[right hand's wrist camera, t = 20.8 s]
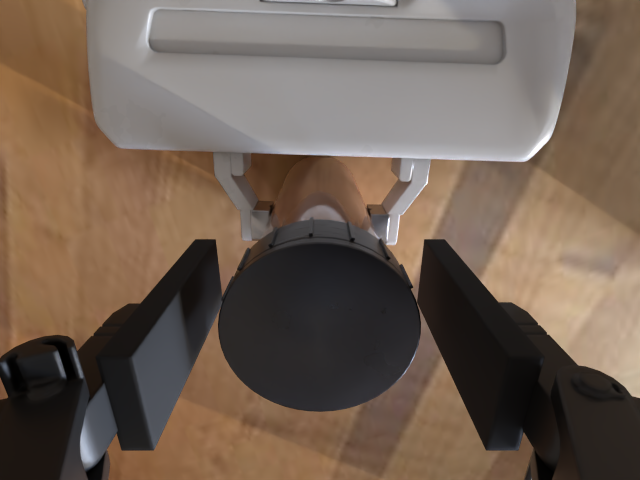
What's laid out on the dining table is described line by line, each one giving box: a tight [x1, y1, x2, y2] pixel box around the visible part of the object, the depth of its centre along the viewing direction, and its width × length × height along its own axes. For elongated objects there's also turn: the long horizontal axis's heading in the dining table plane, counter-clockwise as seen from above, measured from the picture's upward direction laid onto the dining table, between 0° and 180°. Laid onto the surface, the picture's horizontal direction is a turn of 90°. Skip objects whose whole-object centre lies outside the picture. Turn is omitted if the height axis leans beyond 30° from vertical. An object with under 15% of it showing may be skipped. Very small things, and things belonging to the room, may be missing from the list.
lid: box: [218, 217, 421, 412], centre depth 11 cm, size 6×6×2 cm
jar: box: [261, 155, 379, 239], centre depth 18 cm, size 5×5×15 cm
